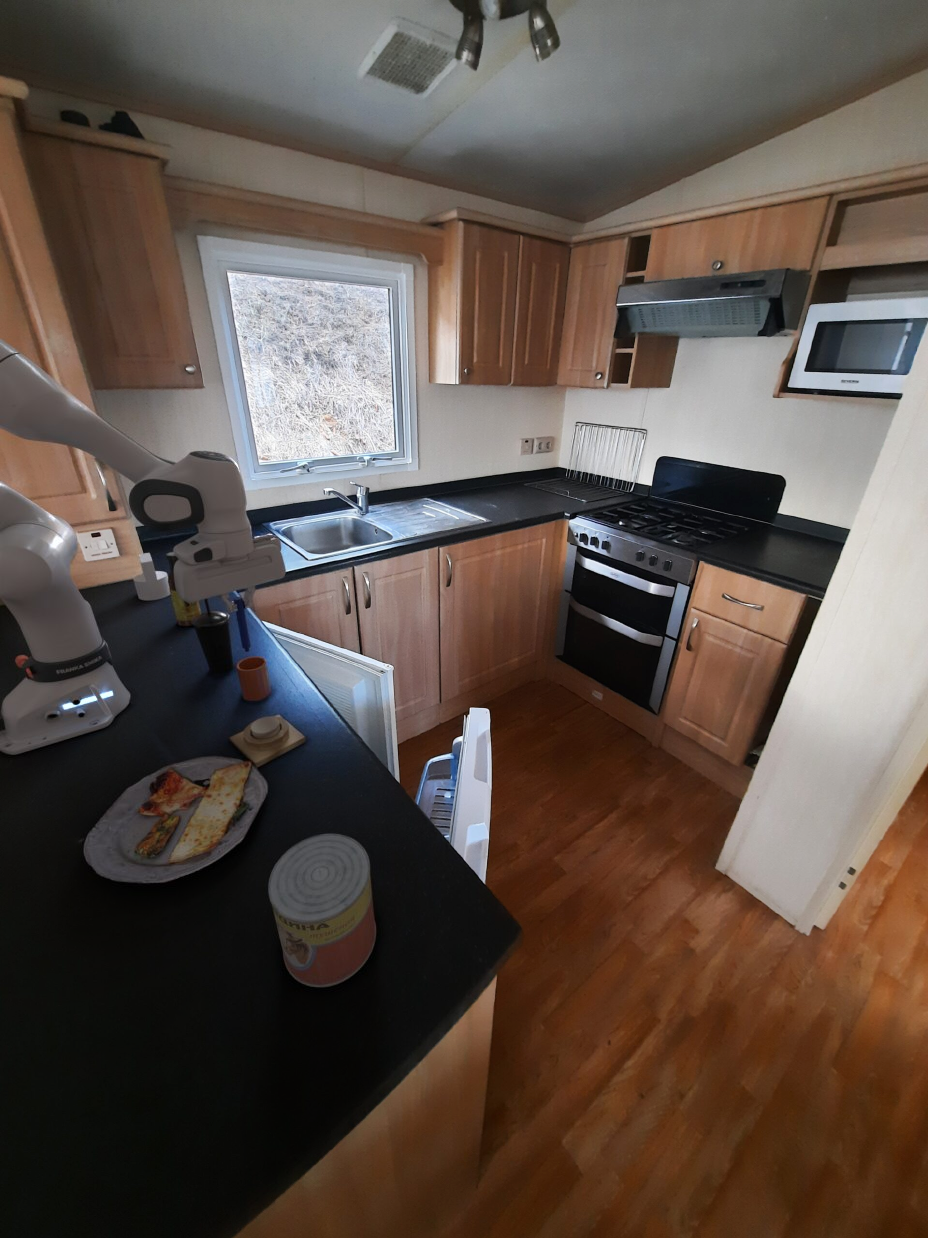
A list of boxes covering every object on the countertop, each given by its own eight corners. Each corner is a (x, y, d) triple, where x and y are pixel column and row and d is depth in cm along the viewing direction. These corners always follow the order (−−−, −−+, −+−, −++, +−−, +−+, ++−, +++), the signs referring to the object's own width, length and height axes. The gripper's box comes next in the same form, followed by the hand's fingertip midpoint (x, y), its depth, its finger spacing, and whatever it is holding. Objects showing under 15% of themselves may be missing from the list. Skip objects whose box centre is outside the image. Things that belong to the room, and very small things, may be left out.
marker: (245, 653, 104) (235, 600, 98) (241, 651, 105) (231, 597, 99) (252, 651, 105) (243, 598, 100) (249, 648, 106) (239, 595, 100)
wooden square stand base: (256, 768, 90) (253, 755, 88) (230, 742, 96) (227, 729, 94) (306, 741, 96) (304, 729, 95) (279, 719, 102) (277, 706, 101)
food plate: (158, 762, 91) (153, 746, 89) (287, 766, 90) (284, 751, 89) (53, 890, 68) (44, 873, 67) (223, 897, 68) (218, 880, 66)
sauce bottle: (192, 628, 137) (175, 558, 128) (172, 626, 138) (153, 556, 129) (208, 618, 143) (192, 550, 134) (188, 615, 144) (172, 548, 135)
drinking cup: (198, 670, 118) (178, 592, 109) (231, 658, 123) (214, 582, 114) (212, 683, 113) (193, 602, 104) (245, 670, 118) (229, 592, 109)
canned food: (263, 953, 62) (246, 888, 56) (330, 881, 70) (321, 819, 65) (330, 1008, 56) (318, 943, 51) (394, 924, 65) (389, 860, 60)
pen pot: (251, 706, 106) (244, 674, 103) (238, 695, 110) (231, 663, 106) (276, 694, 110) (271, 663, 106) (263, 684, 113) (257, 653, 110)
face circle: (260, 743, 92) (258, 737, 91) (247, 731, 95) (245, 724, 94) (285, 731, 95) (284, 724, 94) (272, 719, 98) (270, 713, 97)
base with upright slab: (173, 596, 155) (164, 559, 150) (139, 602, 151) (128, 564, 146) (169, 586, 162) (160, 550, 157) (137, 592, 158) (126, 555, 152)
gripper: (271, 528, 103) (279, 591, 109) (163, 549, 90) (180, 619, 96) (287, 535, 100) (295, 599, 106) (177, 558, 86) (193, 630, 92)
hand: (239, 609), depth 101 cm, fingers closed on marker, 1 cm apart
